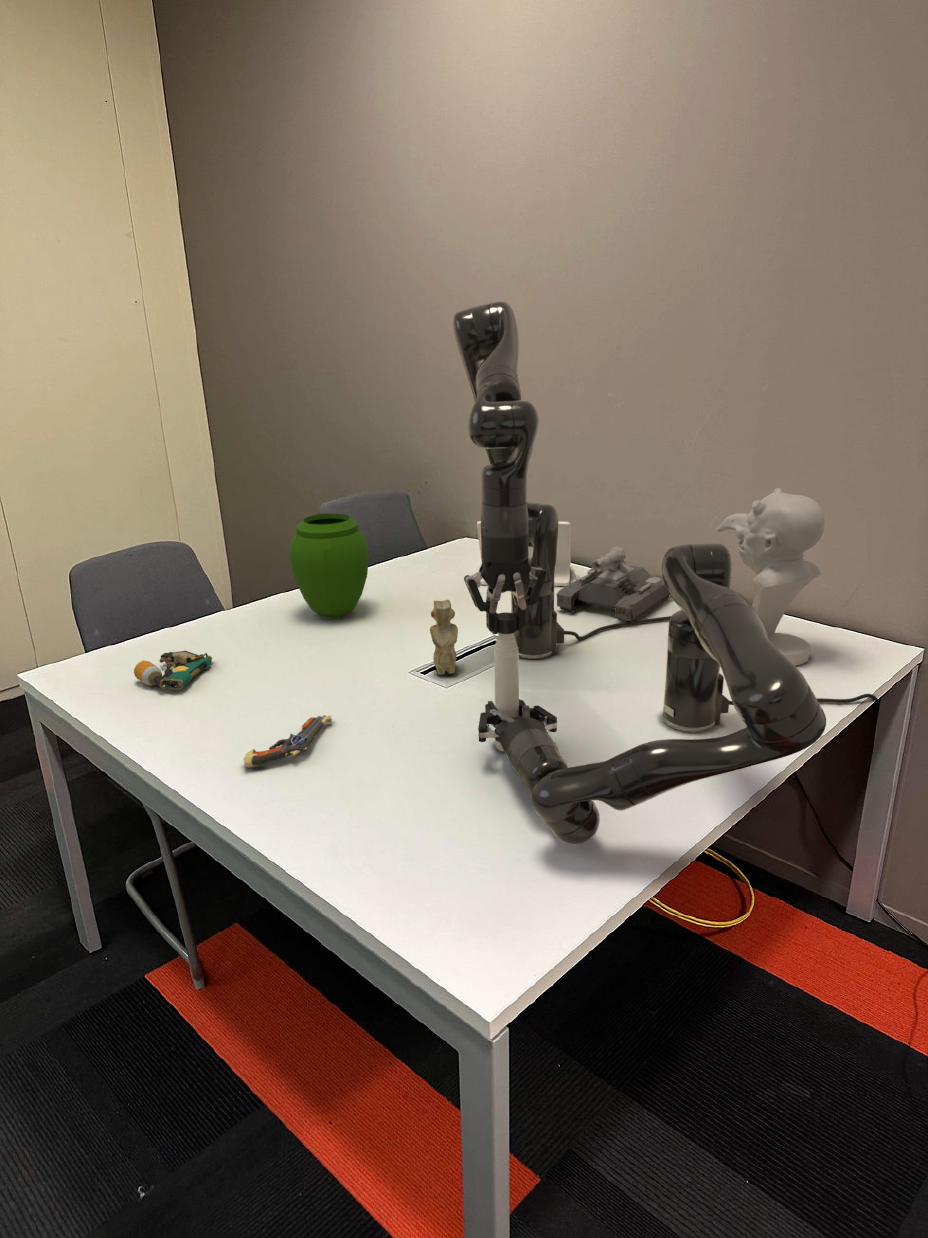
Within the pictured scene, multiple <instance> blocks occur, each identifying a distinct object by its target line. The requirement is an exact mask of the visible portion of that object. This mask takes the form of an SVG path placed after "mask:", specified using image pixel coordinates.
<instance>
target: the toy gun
mask: <svg viewBox="0 0 928 1238" xmlns="http://www.w3.org/2000/svg"><path fill="white" fill-rule="evenodd" d="M332 720H333V717H332V716H331V715H325V714H324V715H322V716H321V715H318V716H315V717H313V716H311V717H309V718H308V719H307V720H306V721H305V722H304V723H303V724H302V725H301V731H299V732H298V733H297V734H294V733H290V735H289V737H288V738H281V739H279V740H278V741H276V742H275V743H274V744H272V745H271V746H270V747H268V749H267V750H261V751H256V749H255V748H253V749H250V750H249V751H248V752H247V753H245V755H244V756H243V762H244V768H249V769H250V768H254V767H257V766H260V765H265V764H269V763H271V762H274V761H278V760H281V759H285V758H288V757H290V756H292V757H294V756H296V755H298V754H300V753H301V752H304V751H305V750H307V749H308V748H309V747H310V746H311V744H312V743H313V742H314V740H315V738H316V736H317V735H318V734H319V733H320V731H322V730H323V728H324V727H326V725H327V724H329V723H332Z"/></svg>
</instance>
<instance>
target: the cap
mask: <svg viewBox="0 0 928 1238" xmlns="http://www.w3.org/2000/svg"><path fill="white" fill-rule="evenodd" d="M497 613H498V612H497ZM517 630H518V620H517V615H516V614H514V613H511V612H499V613H498V633H500V634H511V633H515V632H516V631H517Z"/></svg>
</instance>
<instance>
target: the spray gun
mask: <svg viewBox="0 0 928 1238" xmlns="http://www.w3.org/2000/svg"><path fill="white" fill-rule="evenodd" d="M212 660H213V657H212V656H211V655H208V653H207V652H205V653H201V654H197V653H194V652H192V651H191V652H190V651H188V650H180V651H169V652H164V653H162V654H161V655H160V658H159V660H158V662H159V663H161V664H163V663H165V664H166V668H165V670H163V672H164V674H163V673H162V669H160V668H159V666H157V665H156V664H154V663H152V662H151V661H149V660H141V661H139V662H138V663H136V665H135V666H134V668H133V675H134V677H135V678H136V679H137V680H139V681H140V682H142V683H143V684H145V685H147V686H155V685H157V686H158V687H160V688H161V689H171V690H172V689H173V690H182V689H184V687H185V686H186V685H188V684H189V683H190V682H191V681H192V679H193V678H195V677H196V676H197V675H198V674H200V673H201V672H202V671H203V670H206V669H208V668H209V667H210V666H211V665H212V662H213V661H212ZM178 663H179V664H181V665H179V666H176V665H177V664H178Z"/></svg>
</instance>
